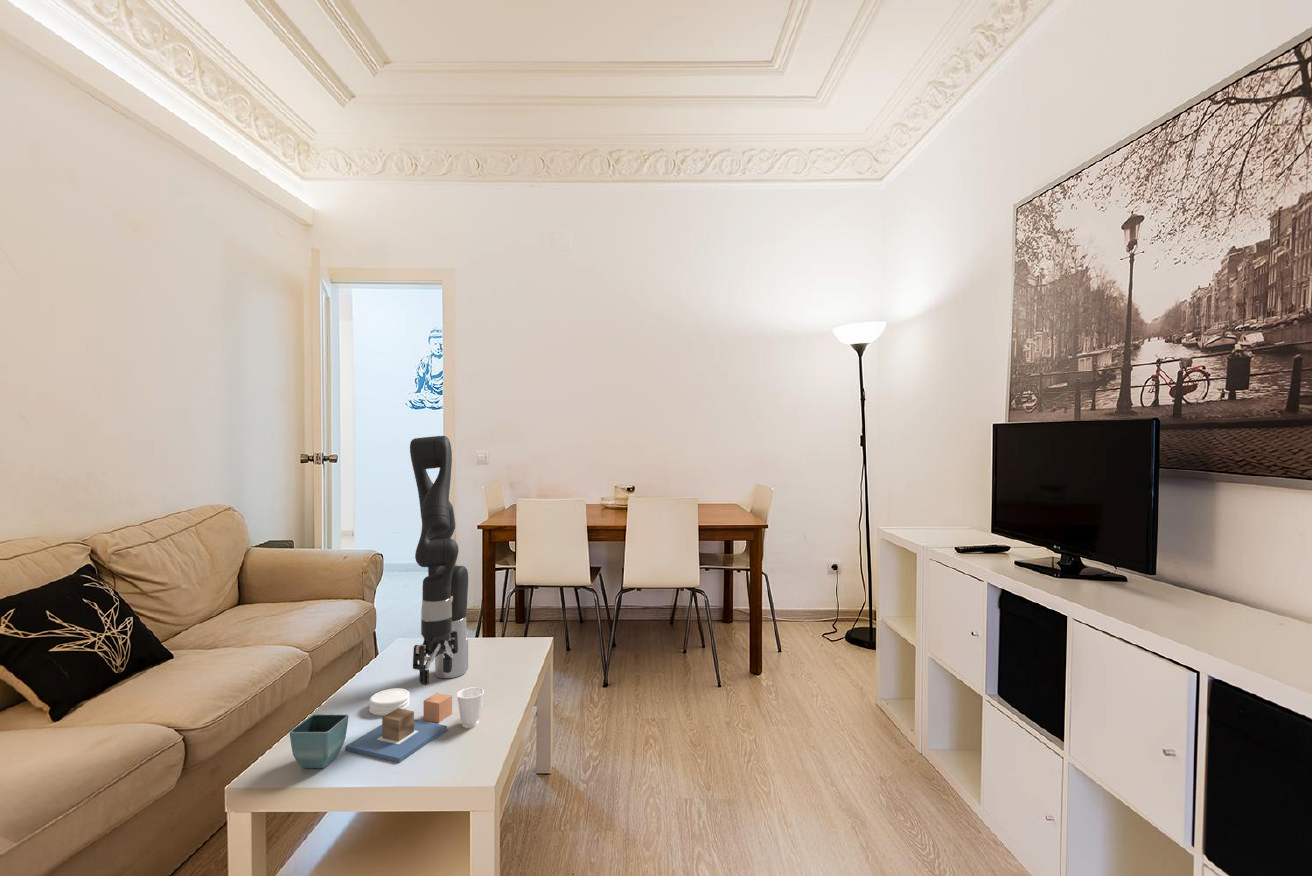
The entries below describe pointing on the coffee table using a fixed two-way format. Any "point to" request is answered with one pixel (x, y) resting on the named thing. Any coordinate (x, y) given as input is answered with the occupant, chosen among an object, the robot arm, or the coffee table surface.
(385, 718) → the walnut block
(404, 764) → the coffee table surface
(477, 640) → the coffee table surface
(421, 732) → the board
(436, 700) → the terracotta block
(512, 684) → the coffee table surface
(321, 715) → the flower pot
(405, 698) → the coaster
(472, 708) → the cup
